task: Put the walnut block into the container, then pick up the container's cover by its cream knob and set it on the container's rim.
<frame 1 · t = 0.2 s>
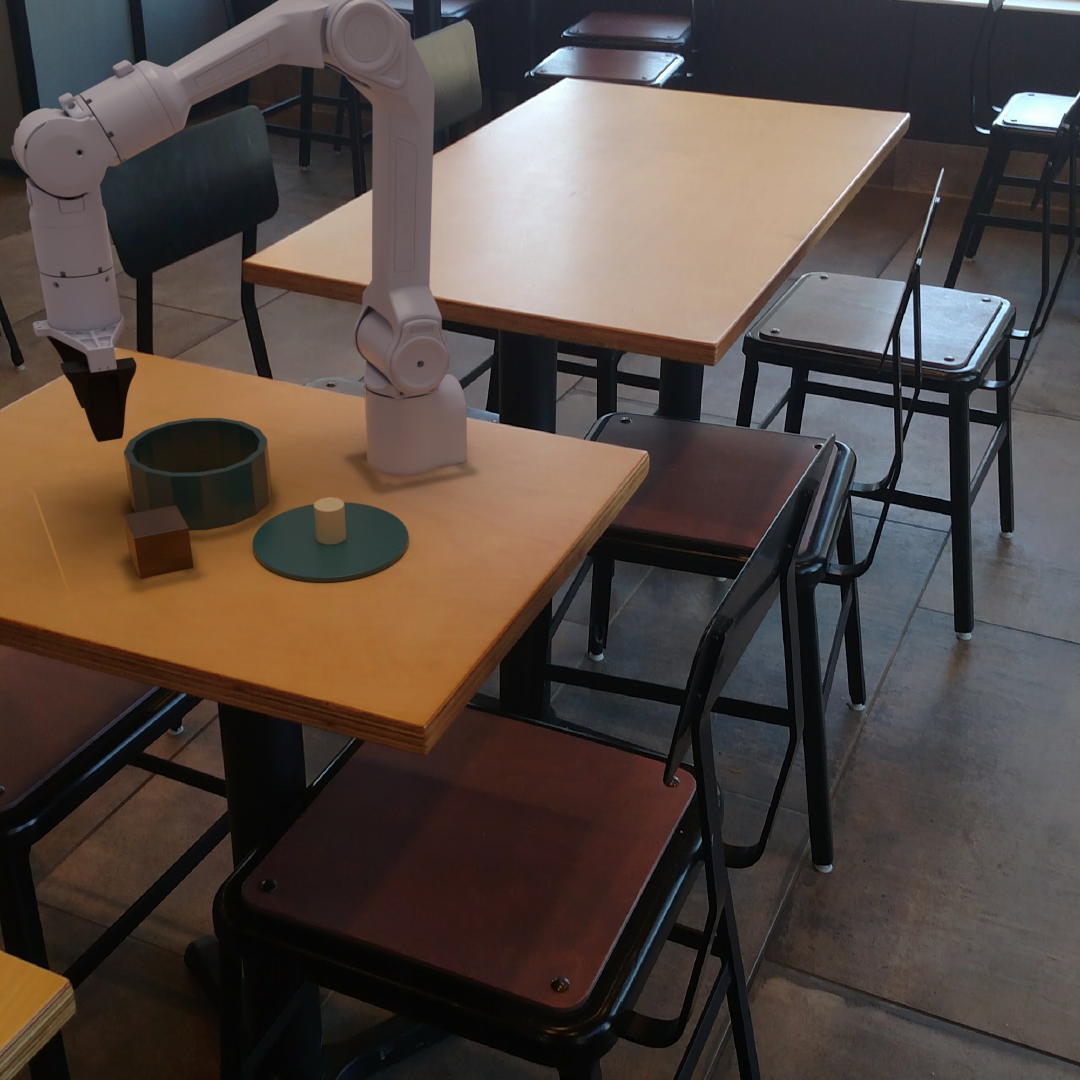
hand: (101, 421, 107), 10 cm above the table, tool pointing down, fingers open, 7 cm apart
container: (203, 503, 116), on the table
block: (162, 566, 106), on the table
cover: (331, 542, 109), point 1 cm above the table
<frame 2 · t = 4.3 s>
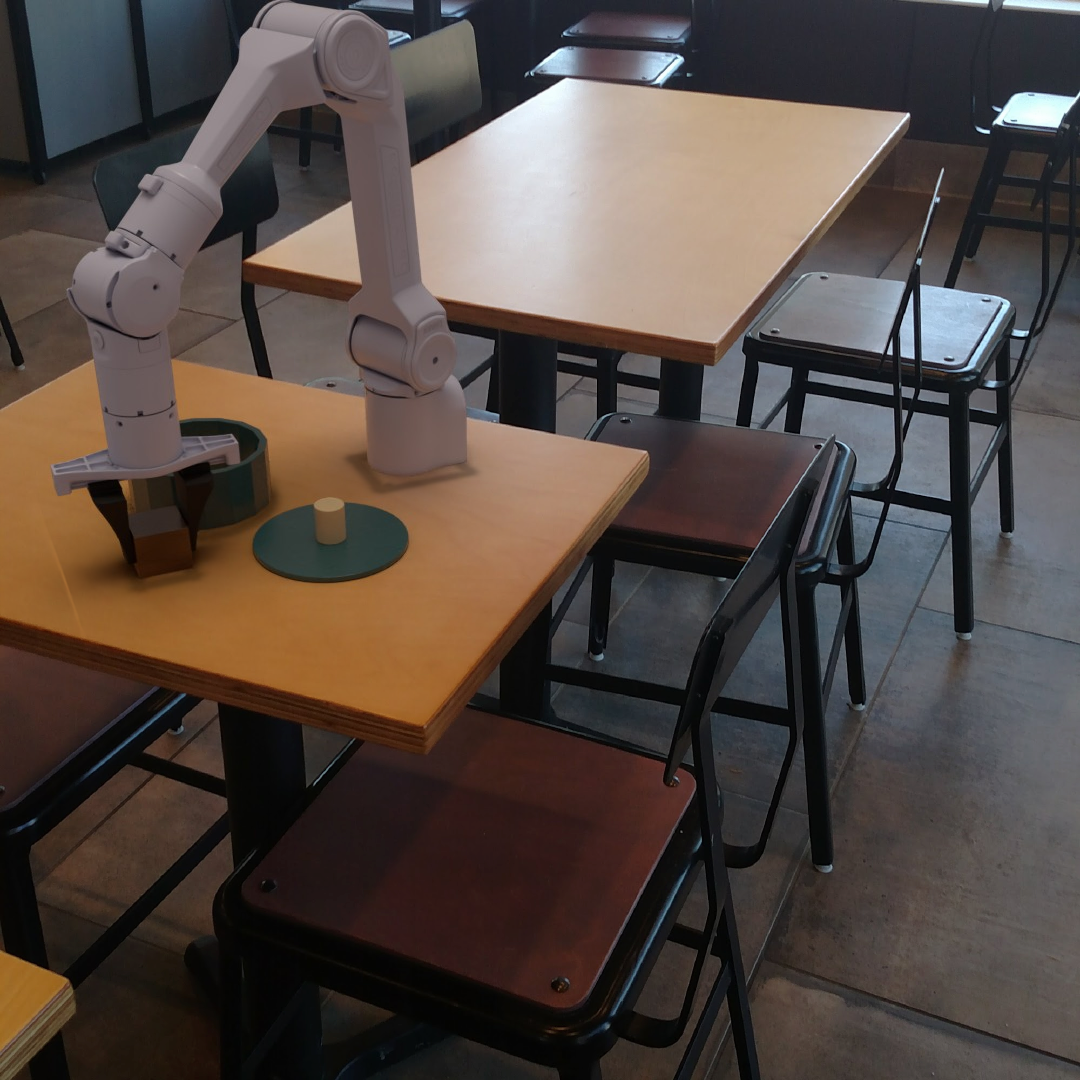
hand: (160, 552, 105), 1 cm above the table, tool pointing down, fingers closed on block, 4 cm apart
block: (161, 566, 106), on the table, touching gripper
everything else where it was.
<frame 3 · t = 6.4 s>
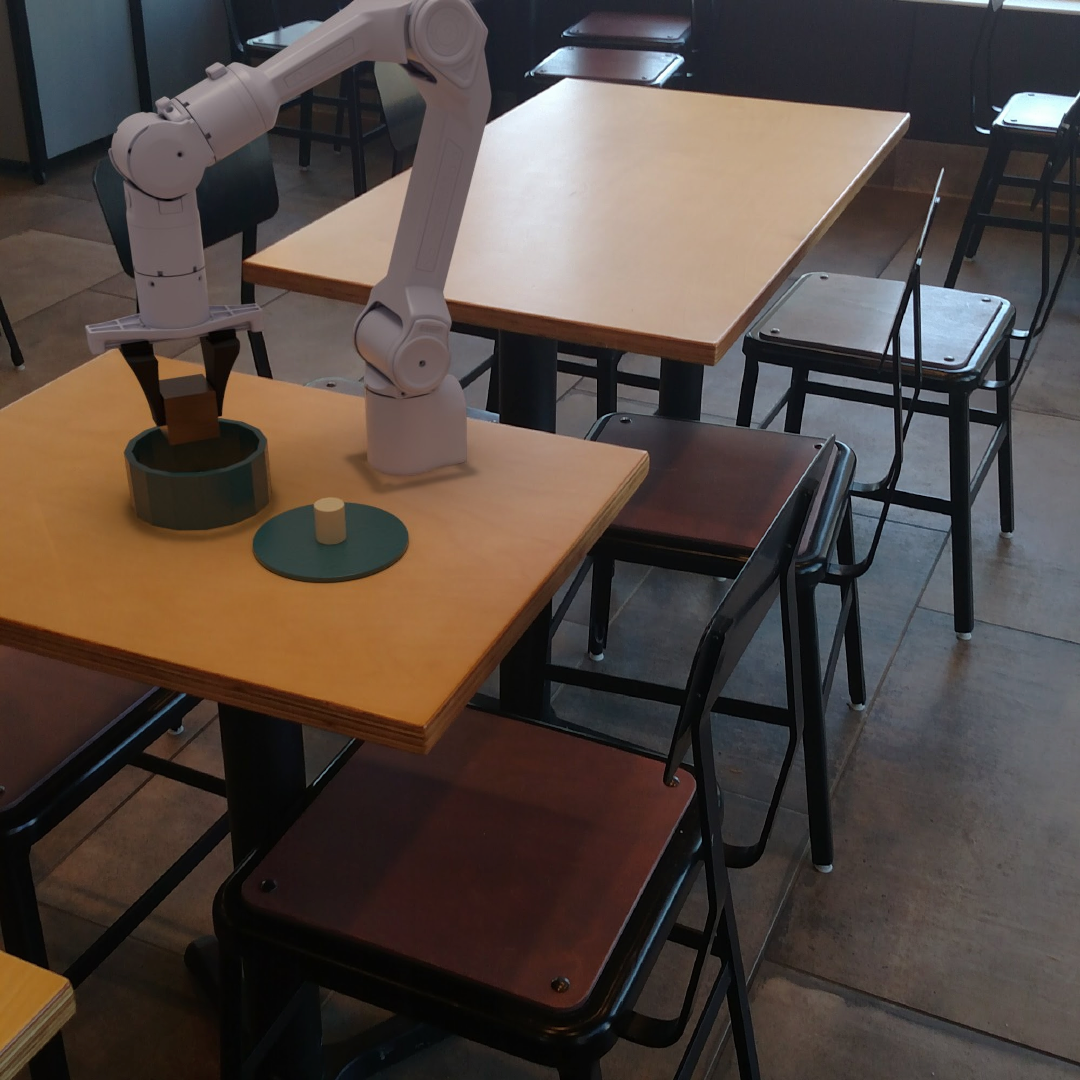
hand: (188, 417, 110), 9 cm above the table, tool pointing down, fingers closed on block, 4 cm apart
block: (189, 431, 111), point 8 cm above the table, touching gripper
everything else where it was.
when the fingers open (2 cm above the table, at t = 8.9 s): block stays where it is, resting on container.
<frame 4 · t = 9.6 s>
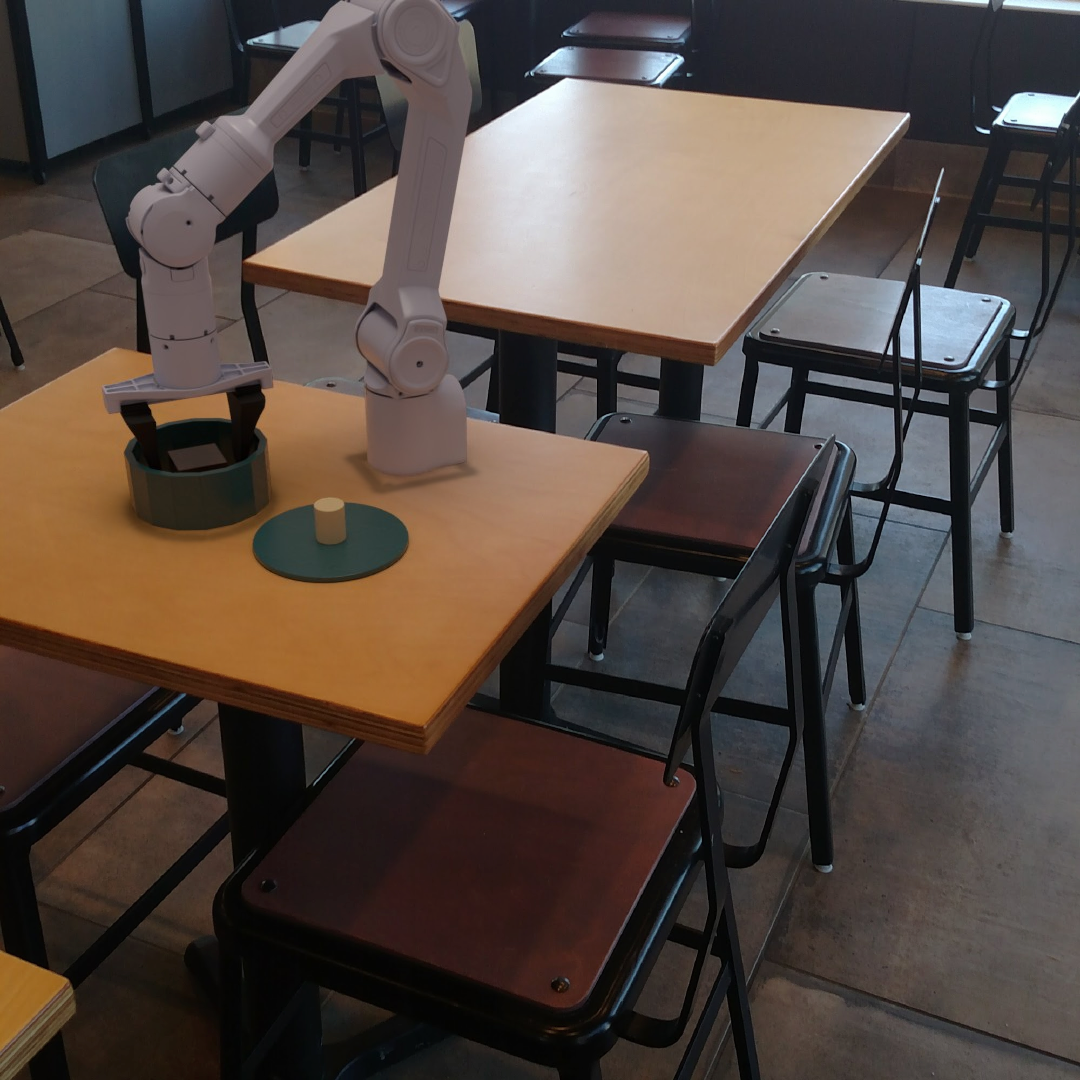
hand: (199, 470, 114), 3 cm above the table, tool pointing down, fingers open, 7 cm apart
block: (202, 499, 116), resting on container
everything else where it was.
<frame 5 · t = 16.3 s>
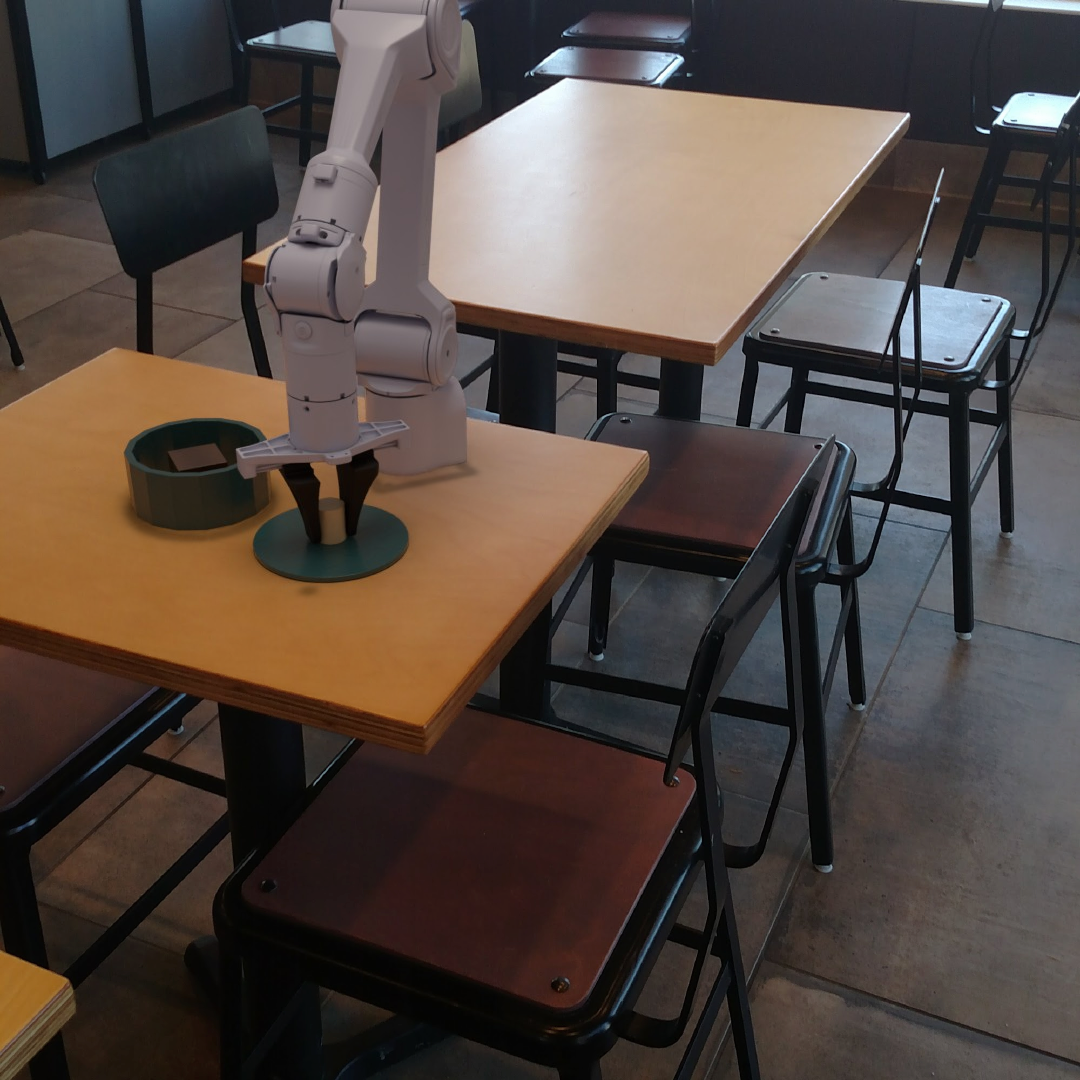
hand: (330, 534, 109), 1 cm above the table, tool pointing down, fingers closed on cover, 2 cm apart
cover: (331, 542, 109), point 1 cm above the table, touching gripper
everything else where it was.
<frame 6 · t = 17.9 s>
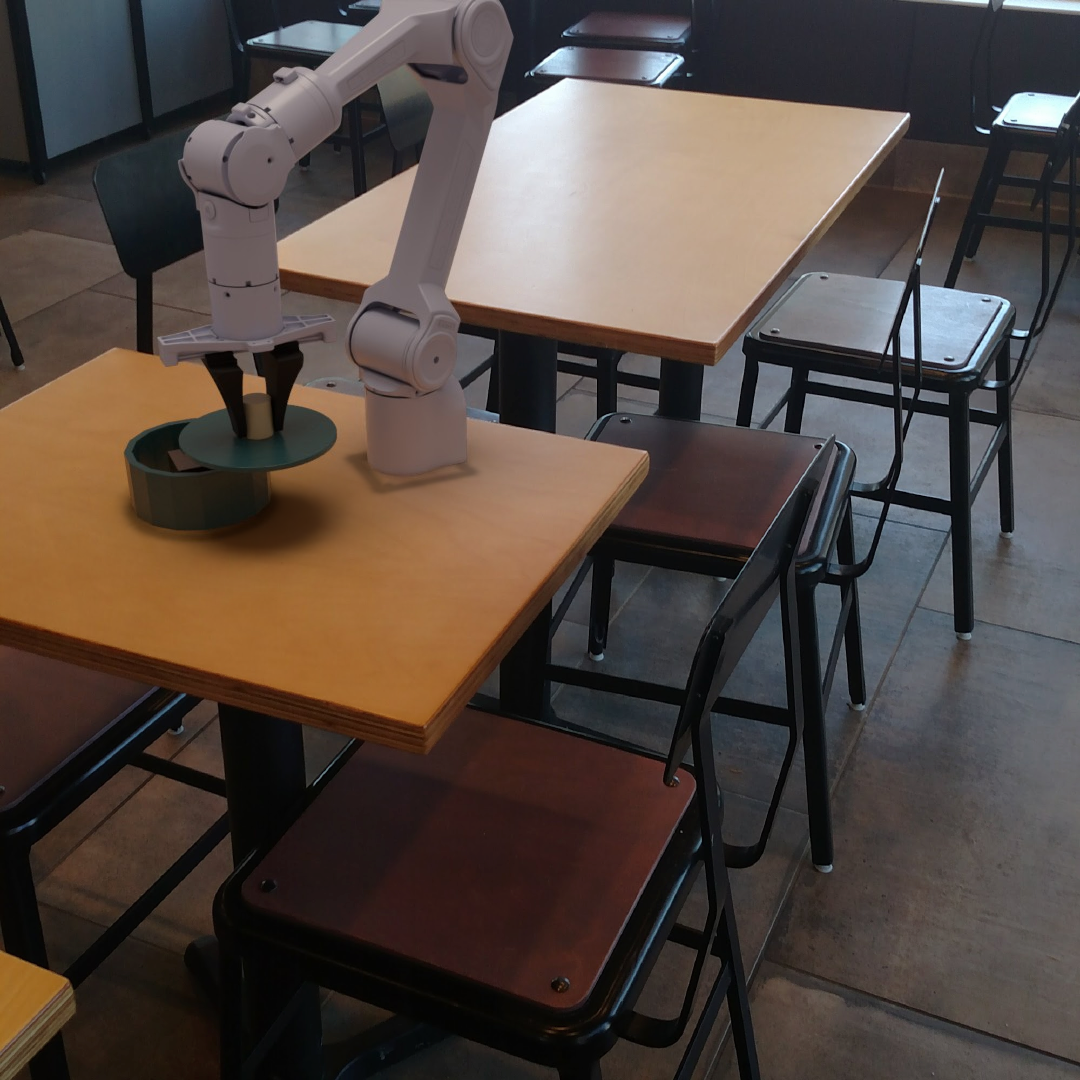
hand: (257, 430, 108), 9 cm above the table, tool pointing down, fingers closed on cover, 2 cm apart
cover: (259, 438, 108), point 9 cm above the table, touching gripper
everything else where it was.
when the fingers open (7 cm above the table, at t = 19.7 s): cover stays where it is, resting on container.
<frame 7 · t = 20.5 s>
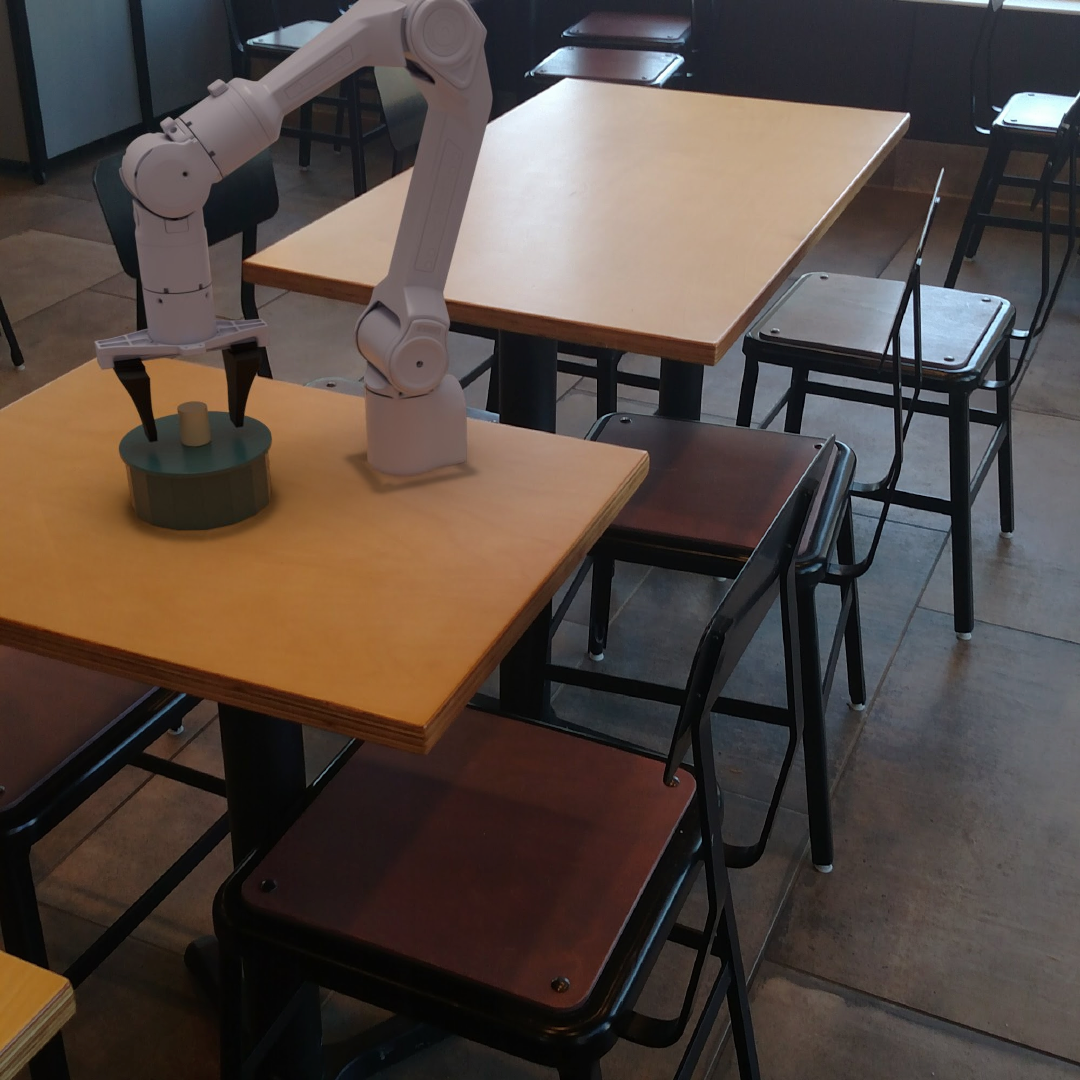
hand: (194, 430, 112), 7 cm above the table, tool pointing down, fingers open, 7 cm apart
cover: (196, 445, 113), point 6 cm above the table, touching container
everything else where it was.
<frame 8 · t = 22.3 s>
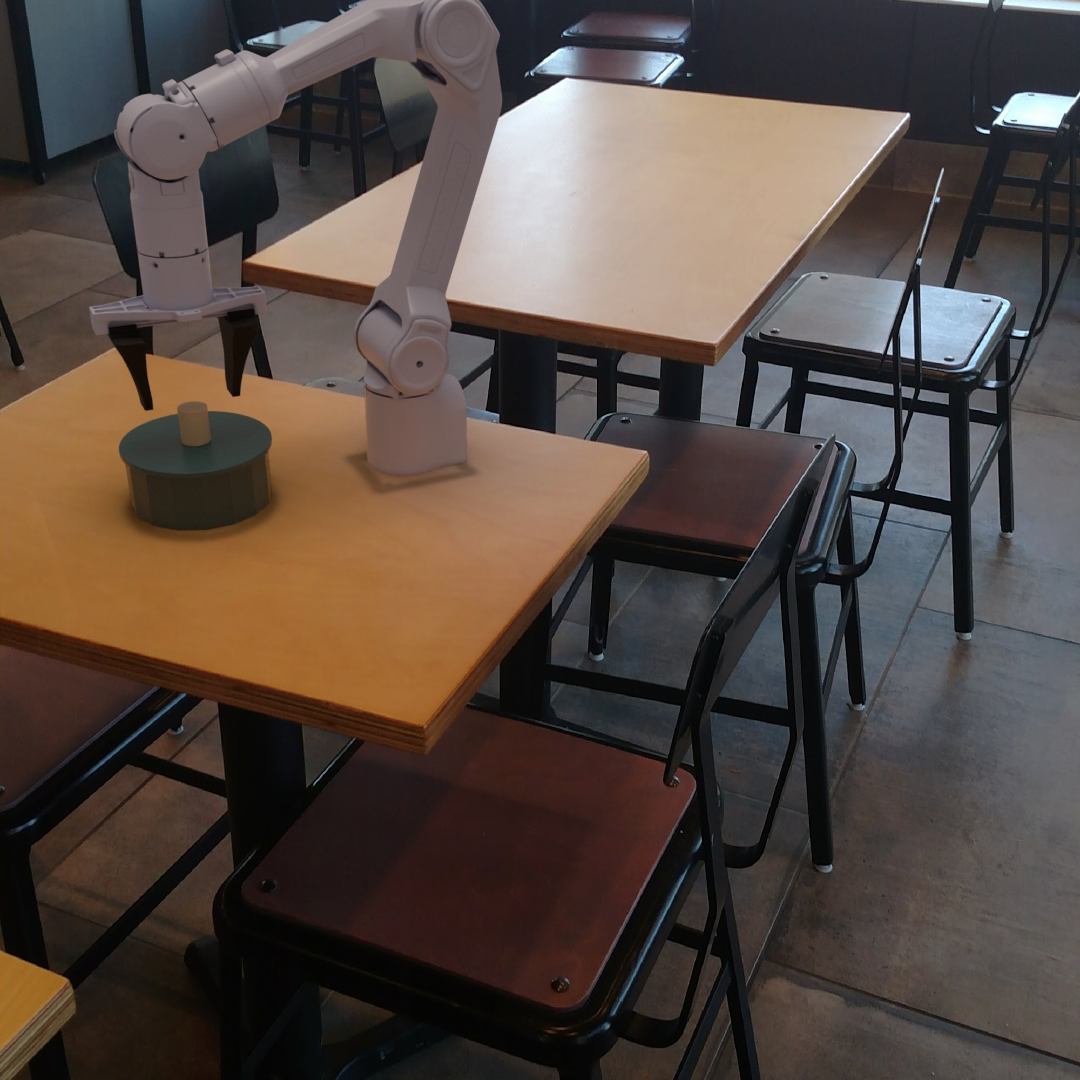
hand: (190, 399, 111), 10 cm above the table, tool pointing down, fingers open, 7 cm apart
nothing on the table moved.
at the end: block inside the target area in the container (0.1 cm from its centre), point 0.4 cm above the container's base; cover 0.0 cm off-centre on the container, point 5.9 cm above the container's base; cover tilted 0° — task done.
